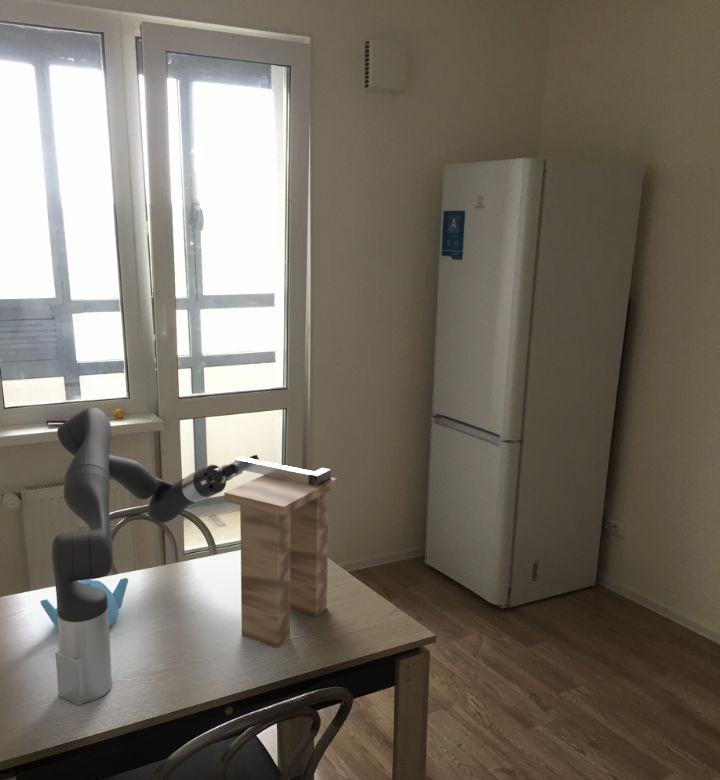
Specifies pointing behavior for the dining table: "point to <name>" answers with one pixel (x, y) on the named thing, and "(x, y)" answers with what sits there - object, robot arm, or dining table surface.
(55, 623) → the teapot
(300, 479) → the crook tool
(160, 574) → the dining table surface
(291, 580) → the shelf
